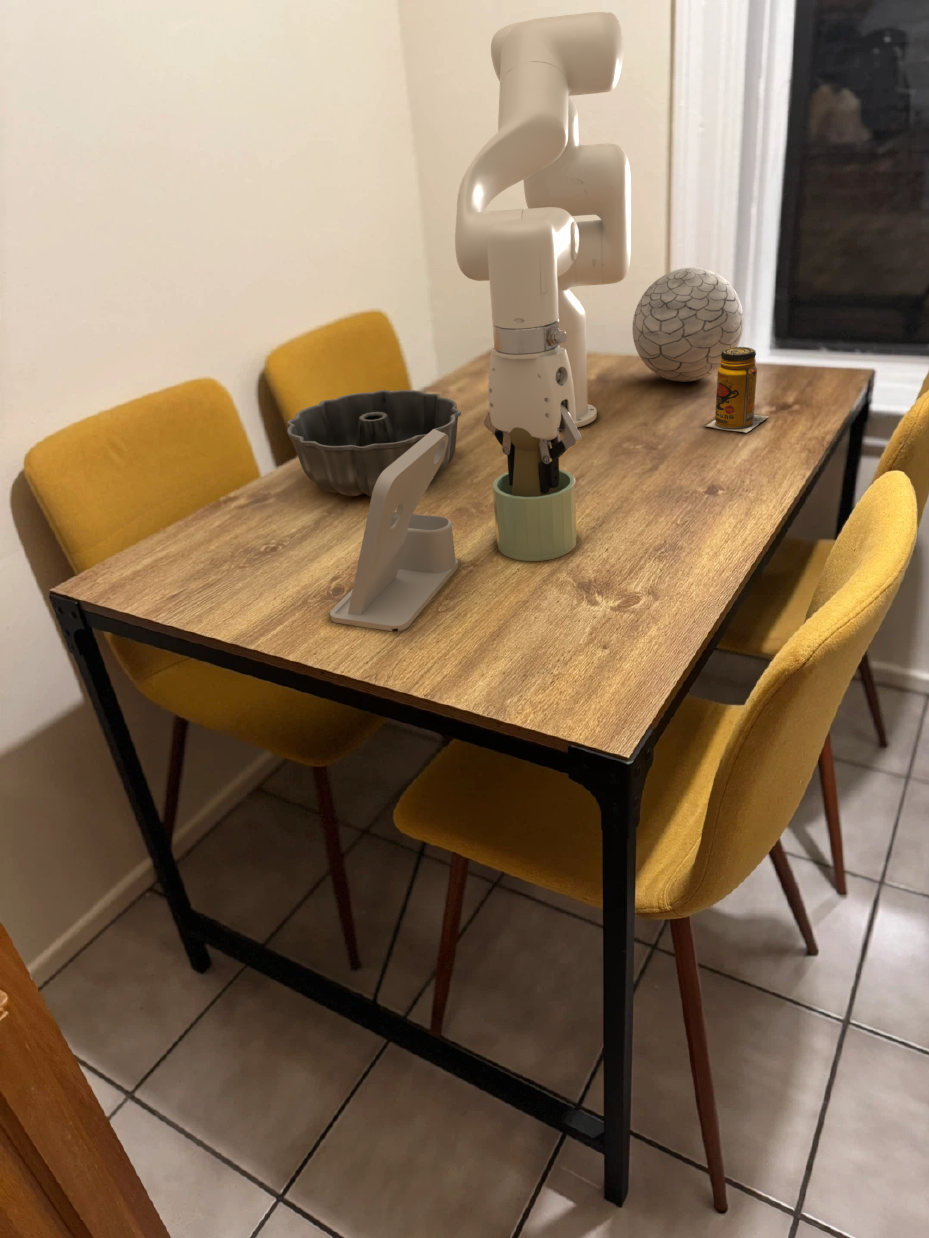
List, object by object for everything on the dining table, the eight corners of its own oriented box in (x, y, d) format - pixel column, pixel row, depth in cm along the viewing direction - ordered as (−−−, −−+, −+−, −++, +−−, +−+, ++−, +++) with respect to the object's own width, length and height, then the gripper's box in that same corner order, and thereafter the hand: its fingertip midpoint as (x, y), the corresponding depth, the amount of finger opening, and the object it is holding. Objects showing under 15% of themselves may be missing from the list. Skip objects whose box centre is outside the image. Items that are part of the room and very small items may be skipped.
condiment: (704, 427, 146) (708, 353, 140) (728, 412, 151) (732, 340, 145) (746, 434, 142) (752, 358, 136) (769, 418, 147) (775, 344, 141)
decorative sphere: (673, 359, 181) (676, 255, 171) (760, 374, 168) (769, 261, 157) (610, 385, 170) (610, 275, 160) (698, 402, 157) (704, 283, 147)
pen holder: (483, 540, 117) (477, 480, 113) (547, 519, 121) (544, 460, 117) (524, 569, 109) (521, 505, 105) (592, 545, 113) (591, 483, 109)
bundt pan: (492, 453, 145) (487, 392, 139) (417, 520, 125) (409, 452, 119) (353, 441, 155) (344, 385, 150) (264, 502, 135) (250, 439, 130)
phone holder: (393, 553, 116) (374, 420, 107) (464, 562, 112) (451, 424, 103) (326, 621, 103) (297, 475, 93) (404, 633, 99) (383, 482, 90)
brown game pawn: (555, 513, 109) (552, 427, 104) (507, 512, 111) (501, 428, 105) (561, 493, 114) (558, 410, 109) (514, 493, 116) (509, 411, 110)
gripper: (606, 336, 99) (607, 488, 109) (490, 323, 109) (500, 464, 119) (567, 354, 95) (572, 511, 104) (450, 339, 104) (464, 483, 114)
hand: (533, 484), depth 111 cm, fingers closed on brown game pawn, 4 cm apart
